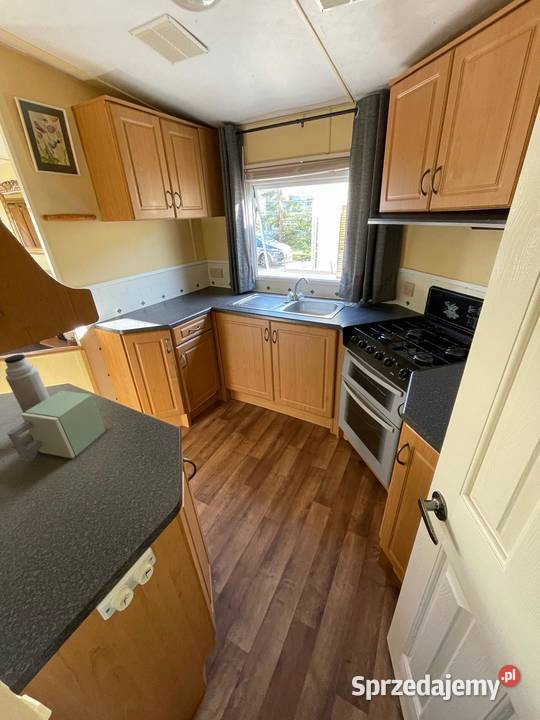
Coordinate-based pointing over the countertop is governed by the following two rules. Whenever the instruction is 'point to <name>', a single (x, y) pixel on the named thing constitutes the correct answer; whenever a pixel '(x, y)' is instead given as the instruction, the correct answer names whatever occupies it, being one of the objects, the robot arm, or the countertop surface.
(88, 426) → the box
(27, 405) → the thermos bottle
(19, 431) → the machine door
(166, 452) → the countertop surface
